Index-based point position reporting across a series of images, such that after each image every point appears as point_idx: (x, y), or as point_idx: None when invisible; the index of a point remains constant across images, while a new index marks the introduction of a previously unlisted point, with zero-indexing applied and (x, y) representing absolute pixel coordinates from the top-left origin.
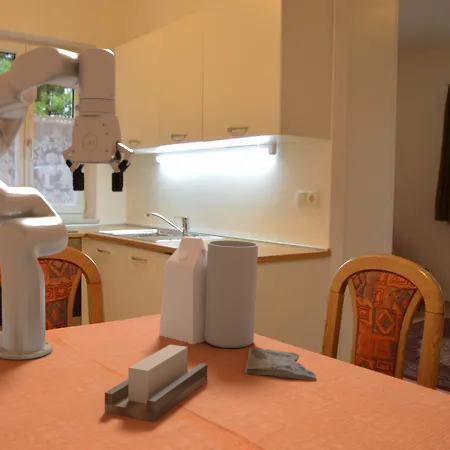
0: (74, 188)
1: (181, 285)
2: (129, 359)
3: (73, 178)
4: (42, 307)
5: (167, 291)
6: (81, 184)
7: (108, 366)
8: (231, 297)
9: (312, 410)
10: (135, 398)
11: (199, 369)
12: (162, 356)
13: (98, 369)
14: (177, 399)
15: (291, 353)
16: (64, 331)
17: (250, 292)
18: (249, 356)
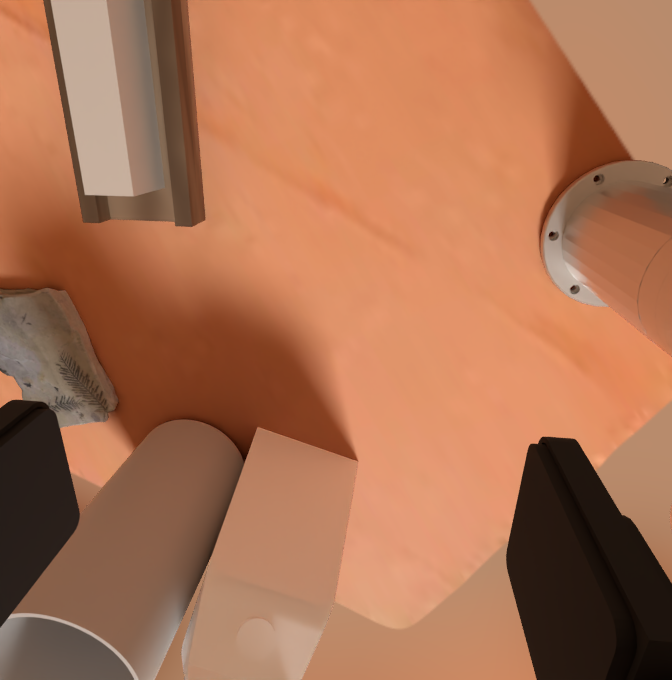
0: (558, 445)
1: (266, 538)
2: (330, 283)
3: (627, 543)
4: (606, 277)
5: (323, 537)
6: (530, 574)
7: (347, 219)
8: (108, 493)
9: None
10: None
11: (75, 178)
12: (86, 86)
13: (357, 190)
14: None
15: None
16: (602, 423)
17: None
18: (90, 365)
